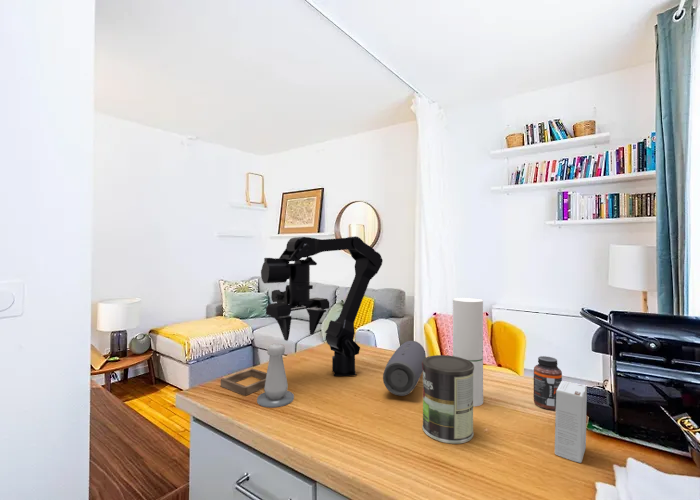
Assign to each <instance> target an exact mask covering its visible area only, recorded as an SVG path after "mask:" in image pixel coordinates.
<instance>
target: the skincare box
mask: <svg viewBox="0 0 700 500" xmlns="http://www.w3.org/2000/svg"><path fill="white" fill-rule="evenodd" d="M587 390H588V387H587V385H585V384H579V383H576V382H570V381H566V380H565V381H564V380H562V381H561V383H560V385H559V387H558V389H557V390H556V410H555V421H554V422H555V423H554V426H555V427H554V454H555V455H556V456H559V457H560V458H563V459H567V460H569V461H572V462H575V463H580V464H581V463H582V462H583V459H584V456H585V455H584V454H585V452H586V448H587V442H586V441H587V400H588V399H587V396H588V392H587Z"/></svg>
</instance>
